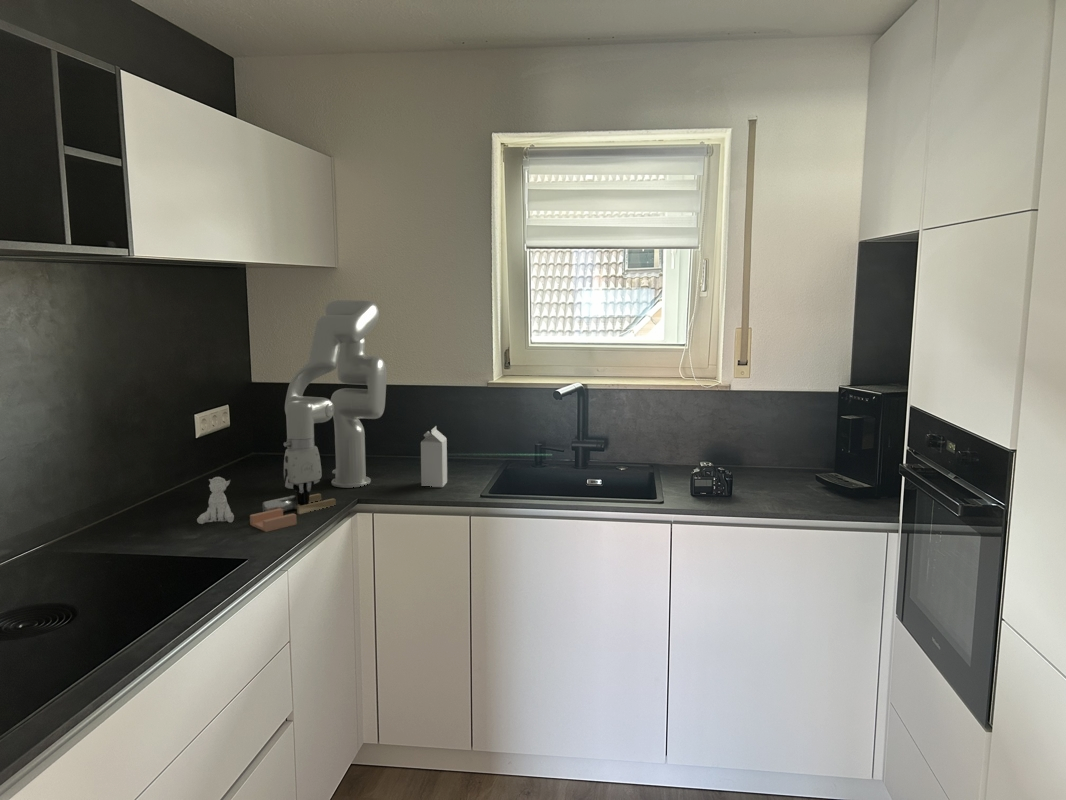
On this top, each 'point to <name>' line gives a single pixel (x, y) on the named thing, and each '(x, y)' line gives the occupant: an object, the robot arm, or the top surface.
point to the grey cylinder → (281, 504)
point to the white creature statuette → (217, 503)
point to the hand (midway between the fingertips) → (303, 504)
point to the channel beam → (315, 504)
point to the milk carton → (434, 459)
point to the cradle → (272, 520)
